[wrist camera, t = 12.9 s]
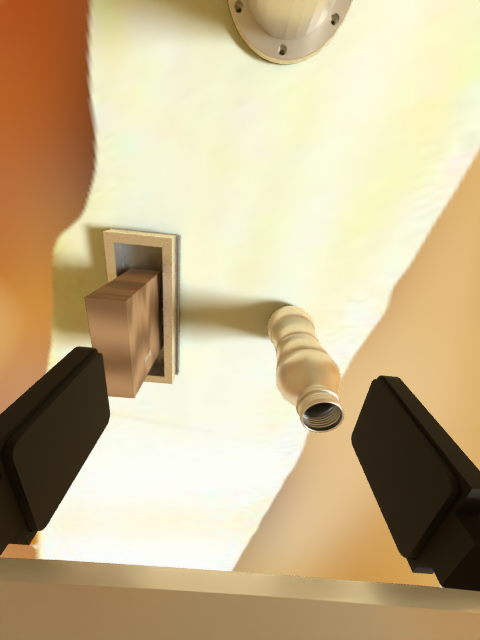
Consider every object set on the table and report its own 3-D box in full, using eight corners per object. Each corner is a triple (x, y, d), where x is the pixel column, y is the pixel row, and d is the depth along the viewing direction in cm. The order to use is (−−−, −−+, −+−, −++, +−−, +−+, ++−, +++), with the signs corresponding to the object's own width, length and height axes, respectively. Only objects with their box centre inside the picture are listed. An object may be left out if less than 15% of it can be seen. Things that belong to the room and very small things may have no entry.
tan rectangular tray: (112, 228, 36) (100, 230, 33) (180, 235, 36) (174, 238, 33) (125, 366, 45) (116, 378, 42) (179, 371, 45) (174, 384, 42)
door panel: (130, 268, 37) (84, 297, 26) (160, 271, 37) (126, 301, 26) (136, 344, 42) (99, 395, 31) (162, 346, 42) (134, 398, 31)
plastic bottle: (308, 339, 43) (356, 444, 24) (265, 339, 43) (281, 445, 24) (311, 300, 40) (369, 386, 22) (265, 301, 40) (284, 387, 22)
